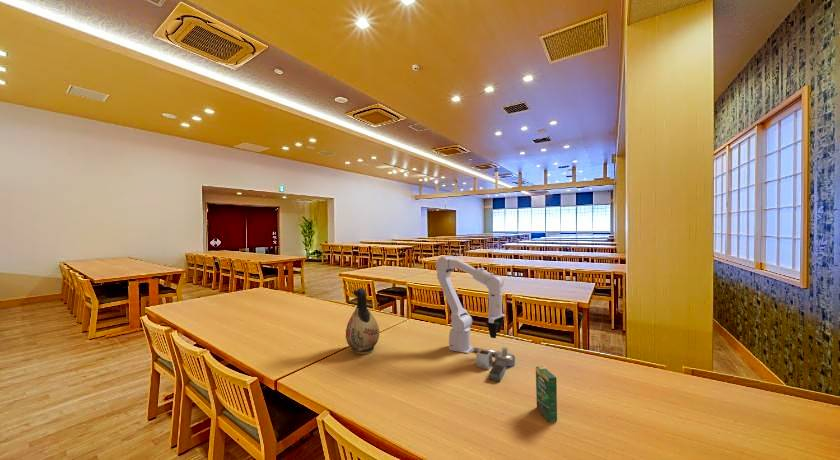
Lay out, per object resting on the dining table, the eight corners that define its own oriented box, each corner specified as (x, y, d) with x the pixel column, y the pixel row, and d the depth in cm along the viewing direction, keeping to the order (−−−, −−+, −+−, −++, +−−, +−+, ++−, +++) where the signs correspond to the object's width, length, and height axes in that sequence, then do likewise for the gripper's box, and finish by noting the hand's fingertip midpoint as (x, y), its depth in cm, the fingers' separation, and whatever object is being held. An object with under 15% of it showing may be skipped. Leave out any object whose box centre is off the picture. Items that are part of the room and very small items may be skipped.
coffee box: (535, 406, 98) (535, 365, 98) (543, 405, 98) (543, 365, 98) (548, 422, 90) (548, 378, 90) (557, 422, 90) (557, 377, 90)
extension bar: (472, 351, 141) (472, 347, 140) (473, 350, 142) (473, 346, 142) (500, 357, 135) (500, 353, 134) (501, 355, 136) (501, 351, 136)
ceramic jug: (342, 347, 147) (341, 285, 146) (374, 342, 153) (373, 282, 153) (350, 362, 131) (349, 292, 131) (385, 355, 138) (384, 288, 137)
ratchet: (484, 378, 116) (484, 362, 116) (497, 357, 134) (497, 343, 134) (505, 383, 112) (505, 366, 112) (516, 361, 130) (516, 346, 130)
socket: (476, 367, 125) (476, 353, 125) (480, 361, 130) (480, 349, 130) (488, 369, 123) (488, 356, 123) (492, 364, 128) (492, 351, 127)
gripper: (500, 309, 126) (500, 342, 126) (508, 301, 139) (508, 331, 139) (483, 307, 129) (483, 339, 129) (492, 299, 142) (492, 328, 142)
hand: (495, 334), depth 134 cm, fingers open, 7 cm apart
